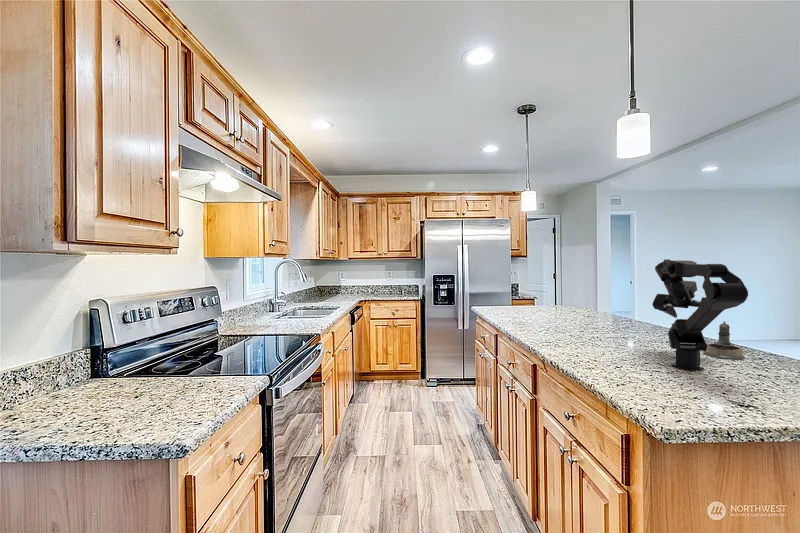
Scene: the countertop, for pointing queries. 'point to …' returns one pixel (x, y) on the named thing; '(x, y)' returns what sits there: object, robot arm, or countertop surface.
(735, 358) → the ring holder
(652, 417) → the countertop surface
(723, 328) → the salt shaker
